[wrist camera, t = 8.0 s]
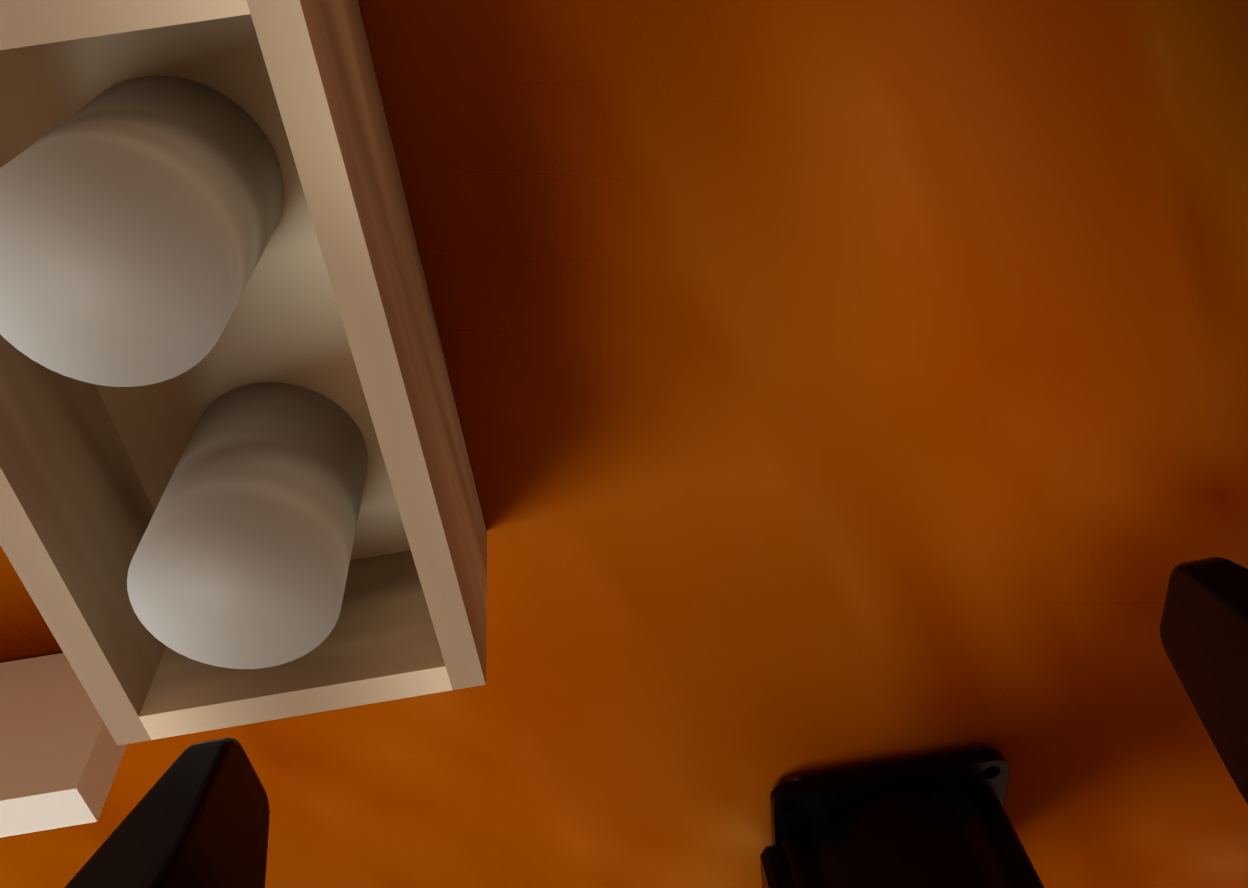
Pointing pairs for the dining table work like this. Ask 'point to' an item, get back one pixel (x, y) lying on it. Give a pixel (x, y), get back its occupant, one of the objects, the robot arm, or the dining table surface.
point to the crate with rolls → (224, 369)
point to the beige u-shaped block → (51, 748)
